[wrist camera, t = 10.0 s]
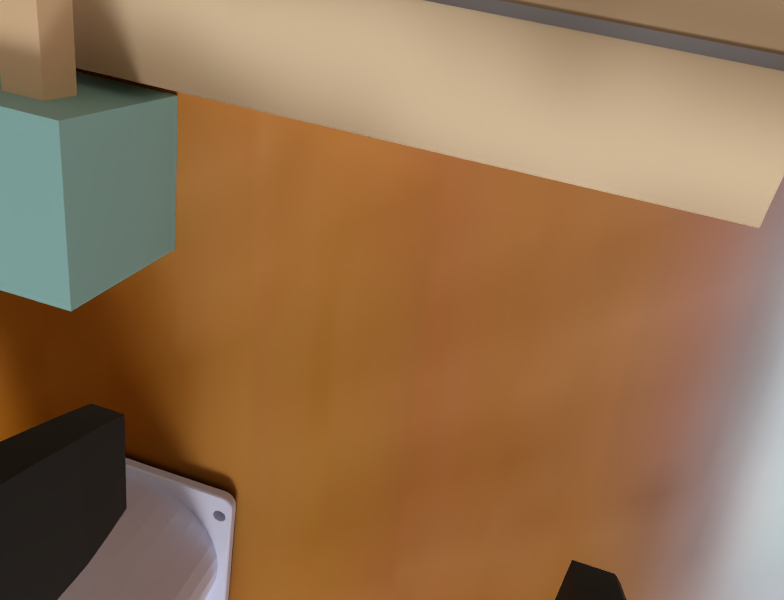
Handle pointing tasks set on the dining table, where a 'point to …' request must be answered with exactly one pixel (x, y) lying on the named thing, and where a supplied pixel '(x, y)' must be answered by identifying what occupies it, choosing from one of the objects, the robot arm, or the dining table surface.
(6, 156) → the tan post teal base
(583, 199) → the dining table surface
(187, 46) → the board
